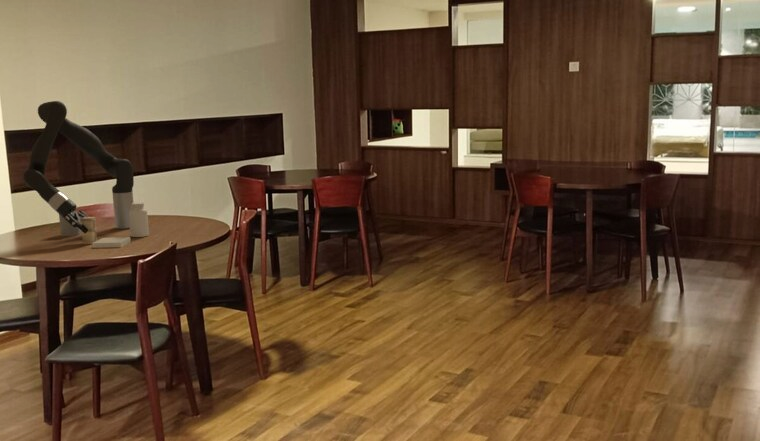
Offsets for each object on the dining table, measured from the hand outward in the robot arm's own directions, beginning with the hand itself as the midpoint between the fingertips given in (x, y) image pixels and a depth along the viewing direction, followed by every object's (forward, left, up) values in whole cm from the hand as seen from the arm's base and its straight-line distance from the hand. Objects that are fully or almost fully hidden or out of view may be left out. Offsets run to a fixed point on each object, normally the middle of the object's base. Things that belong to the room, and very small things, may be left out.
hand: (90, 230), depth 328 cm
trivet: (-4, +11, -6) cm, 13 cm away
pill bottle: (-21, 0, -6) cm, 22 cm away
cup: (0, -29, -6) cm, 29 cm away
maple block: (+1, -1, -6) cm, 6 cm away
